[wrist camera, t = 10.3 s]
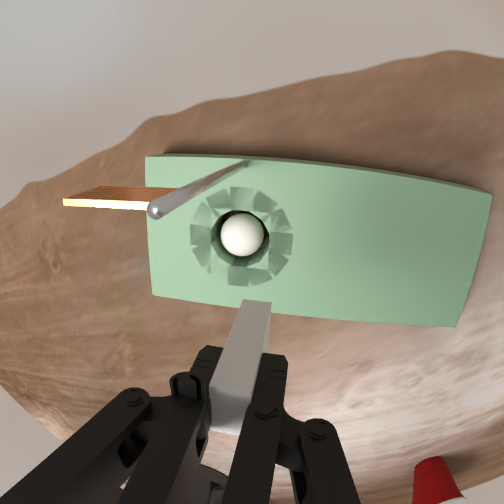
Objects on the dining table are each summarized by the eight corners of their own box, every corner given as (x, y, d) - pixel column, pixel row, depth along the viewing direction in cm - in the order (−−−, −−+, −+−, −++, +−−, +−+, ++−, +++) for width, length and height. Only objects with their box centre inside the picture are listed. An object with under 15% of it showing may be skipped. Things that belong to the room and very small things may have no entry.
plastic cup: (439, 475, 43) (447, 521, 32) (393, 479, 44) (398, 529, 33) (465, 445, 39) (479, 496, 28) (417, 450, 40) (427, 507, 29)
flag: (185, 166, 26) (57, 212, 12) (185, 158, 26) (55, 196, 12) (246, 169, 26) (163, 220, 11) (246, 161, 25) (163, 201, 11)
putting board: (166, 279, 35) (152, 294, 32) (162, 153, 30) (145, 156, 27) (444, 309, 31) (455, 327, 27) (474, 187, 26) (492, 195, 22)
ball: (246, 243, 33) (212, 252, 31) (247, 206, 32) (212, 212, 29) (271, 256, 30) (236, 267, 28) (273, 216, 29) (237, 223, 26)
